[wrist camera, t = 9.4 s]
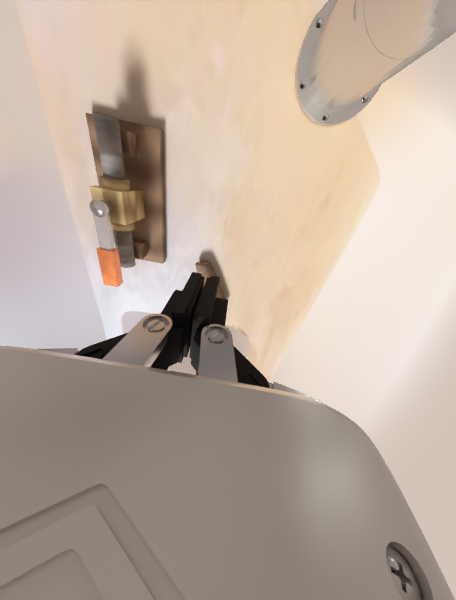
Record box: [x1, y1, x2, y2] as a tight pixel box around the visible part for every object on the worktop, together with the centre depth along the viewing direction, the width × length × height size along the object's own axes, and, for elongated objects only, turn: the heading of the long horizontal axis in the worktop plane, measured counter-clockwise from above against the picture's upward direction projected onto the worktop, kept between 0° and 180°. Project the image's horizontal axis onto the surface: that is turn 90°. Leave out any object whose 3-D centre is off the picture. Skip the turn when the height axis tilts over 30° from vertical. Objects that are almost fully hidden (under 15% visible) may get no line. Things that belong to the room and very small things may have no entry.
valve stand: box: [86, 113, 165, 268], centre depth 34 cm, size 24×12×10 cm, turn 170°
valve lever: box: [90, 199, 123, 287], centre depth 32 cm, size 3×15×2 cm, turn 169°
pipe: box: [196, 262, 223, 299], centre depth 47 cm, size 6×17×10 cm
